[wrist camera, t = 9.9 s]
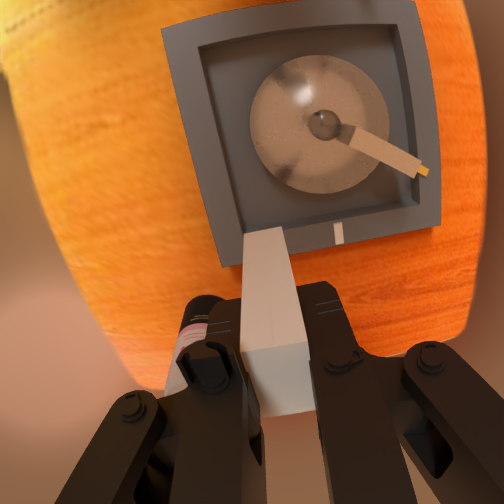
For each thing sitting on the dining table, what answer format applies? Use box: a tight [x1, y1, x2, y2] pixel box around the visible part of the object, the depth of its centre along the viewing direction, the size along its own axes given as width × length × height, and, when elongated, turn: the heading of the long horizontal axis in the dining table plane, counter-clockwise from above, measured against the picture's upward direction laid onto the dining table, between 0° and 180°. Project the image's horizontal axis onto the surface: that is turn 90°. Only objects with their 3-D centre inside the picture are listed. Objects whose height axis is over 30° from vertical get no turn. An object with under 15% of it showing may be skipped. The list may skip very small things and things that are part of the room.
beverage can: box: [164, 295, 225, 396], centre depth 35 cm, size 6×6×15 cm
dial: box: [250, 55, 422, 194], centre depth 27 cm, size 16×14×7 cm
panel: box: [161, 0, 441, 268], centre depth 30 cm, size 26×26×4 cm
